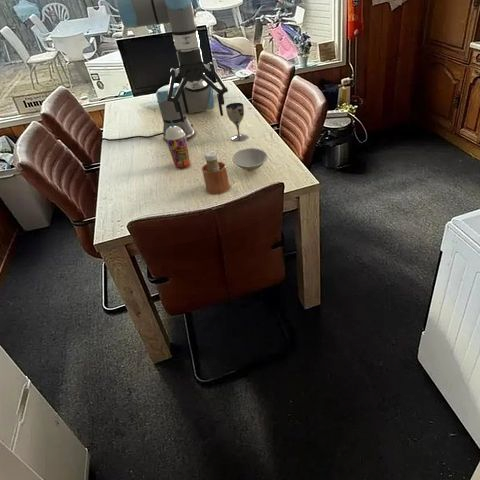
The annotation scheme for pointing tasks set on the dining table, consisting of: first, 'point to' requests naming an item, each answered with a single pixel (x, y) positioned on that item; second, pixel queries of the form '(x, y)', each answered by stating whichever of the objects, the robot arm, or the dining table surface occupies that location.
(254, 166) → the dish
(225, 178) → the tumbler
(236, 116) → the wine glass
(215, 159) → the sprinkles bottle
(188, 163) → the smoothie
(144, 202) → the dining table surface
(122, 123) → the dining table surface
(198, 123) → the dining table surface
